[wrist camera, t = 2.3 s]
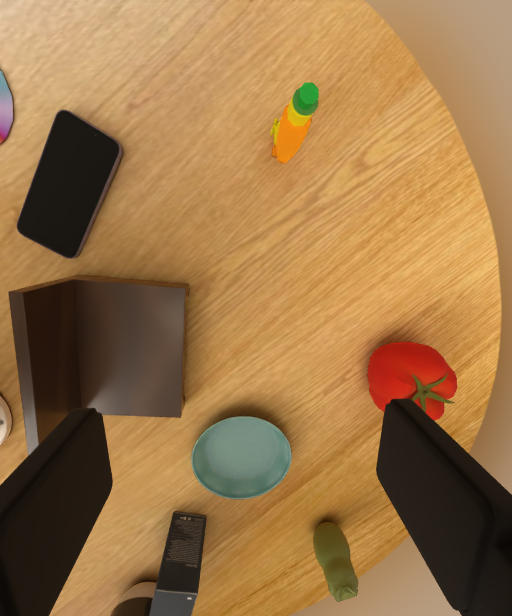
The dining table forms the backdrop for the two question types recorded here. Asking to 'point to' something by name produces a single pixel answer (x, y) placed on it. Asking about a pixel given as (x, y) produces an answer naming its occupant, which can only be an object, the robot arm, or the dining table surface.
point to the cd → (5, 108)
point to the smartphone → (69, 185)
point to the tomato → (411, 377)
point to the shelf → (98, 349)
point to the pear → (335, 560)
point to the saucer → (241, 457)
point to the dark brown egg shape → (136, 600)
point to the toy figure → (294, 122)
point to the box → (180, 567)
